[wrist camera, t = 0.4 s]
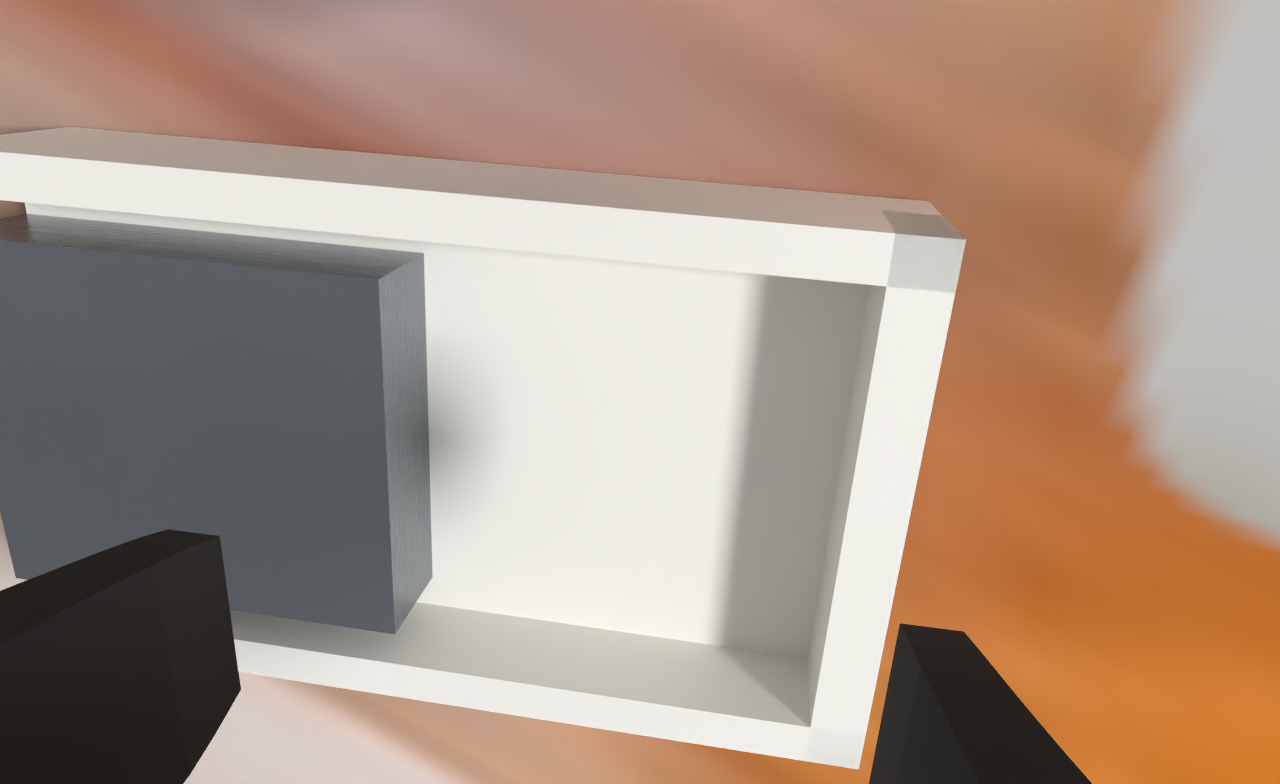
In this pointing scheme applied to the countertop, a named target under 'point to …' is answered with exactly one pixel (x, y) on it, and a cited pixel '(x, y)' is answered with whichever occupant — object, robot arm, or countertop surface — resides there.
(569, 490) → the open front case
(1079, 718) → the countertop surface
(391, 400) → the slate block
